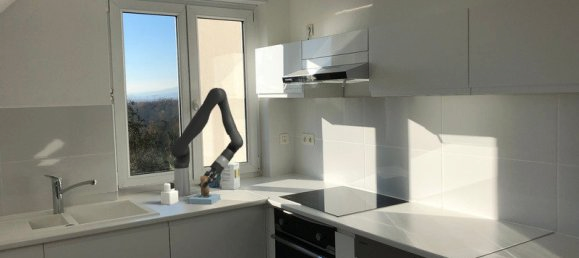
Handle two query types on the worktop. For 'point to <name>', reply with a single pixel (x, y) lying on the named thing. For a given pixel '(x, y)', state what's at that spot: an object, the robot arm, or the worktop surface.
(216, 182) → the snack cup
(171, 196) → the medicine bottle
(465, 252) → the worktop surface
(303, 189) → the worktop surface
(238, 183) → the supplement box
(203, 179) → the walnut peg
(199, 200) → the socket block
